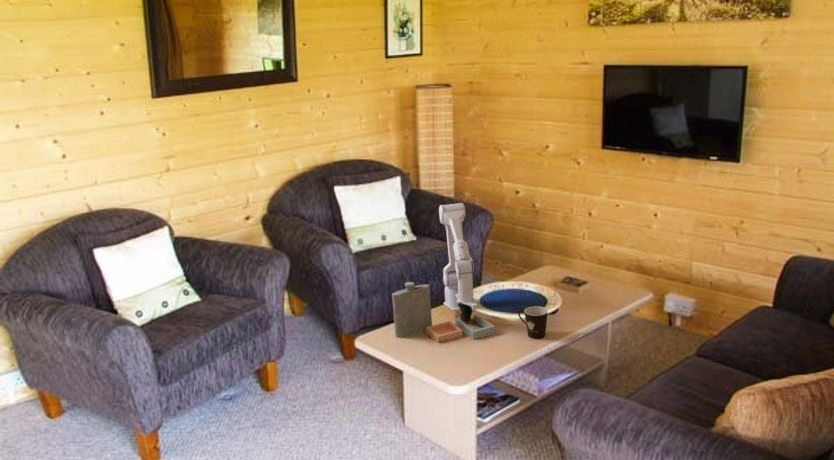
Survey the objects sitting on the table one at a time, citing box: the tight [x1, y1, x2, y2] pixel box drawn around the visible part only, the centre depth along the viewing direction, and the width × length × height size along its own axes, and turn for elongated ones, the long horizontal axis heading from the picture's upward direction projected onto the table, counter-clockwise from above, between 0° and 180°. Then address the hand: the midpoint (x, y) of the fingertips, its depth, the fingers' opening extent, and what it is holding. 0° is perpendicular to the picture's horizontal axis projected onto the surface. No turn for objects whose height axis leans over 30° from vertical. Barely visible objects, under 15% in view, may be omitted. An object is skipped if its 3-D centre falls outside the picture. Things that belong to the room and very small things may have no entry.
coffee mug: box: [517, 305, 549, 340], centre depth 288 cm, size 12×9×10 cm
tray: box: [425, 320, 464, 344], centre depth 294 cm, size 10×10×2 cm
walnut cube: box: [454, 309, 472, 324], centre depth 304 cm, size 4×4×4 cm
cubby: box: [454, 313, 496, 340], centre depth 296 cm, size 15×9×3 cm, turn 24°
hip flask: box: [391, 281, 433, 339], centre depth 296 cm, size 16×4×20 cm, turn 119°
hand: (467, 320), depth 301 cm, fingers closed
